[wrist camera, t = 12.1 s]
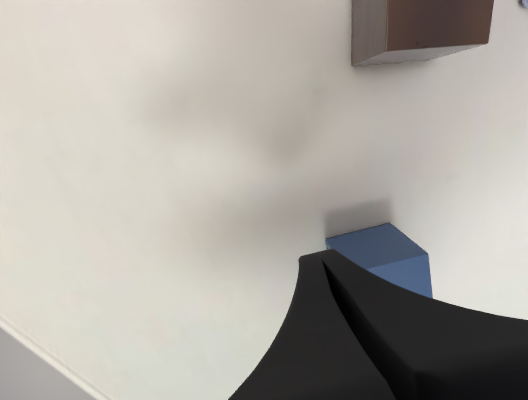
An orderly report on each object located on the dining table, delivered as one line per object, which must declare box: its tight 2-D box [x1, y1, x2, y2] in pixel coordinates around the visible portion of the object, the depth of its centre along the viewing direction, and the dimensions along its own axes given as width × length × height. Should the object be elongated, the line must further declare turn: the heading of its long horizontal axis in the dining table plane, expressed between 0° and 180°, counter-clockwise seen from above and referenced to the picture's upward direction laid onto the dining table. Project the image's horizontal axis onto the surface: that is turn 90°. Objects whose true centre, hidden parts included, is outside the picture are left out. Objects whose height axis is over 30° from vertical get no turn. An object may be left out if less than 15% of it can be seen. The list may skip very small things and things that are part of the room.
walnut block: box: [352, 0, 494, 66], centre depth 14 cm, size 4×4×4 cm
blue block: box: [326, 223, 433, 299], centre depth 18 cm, size 4×4×4 cm
